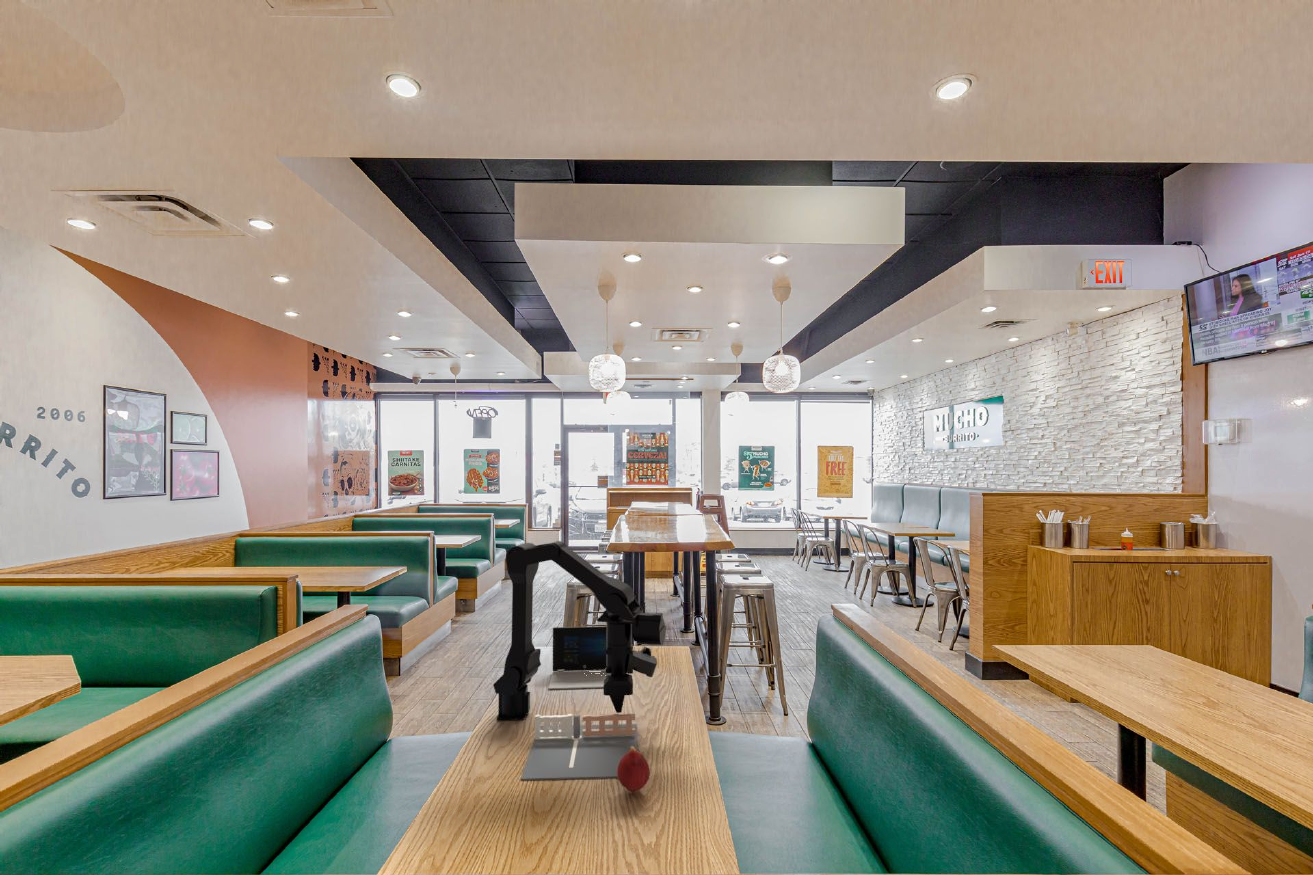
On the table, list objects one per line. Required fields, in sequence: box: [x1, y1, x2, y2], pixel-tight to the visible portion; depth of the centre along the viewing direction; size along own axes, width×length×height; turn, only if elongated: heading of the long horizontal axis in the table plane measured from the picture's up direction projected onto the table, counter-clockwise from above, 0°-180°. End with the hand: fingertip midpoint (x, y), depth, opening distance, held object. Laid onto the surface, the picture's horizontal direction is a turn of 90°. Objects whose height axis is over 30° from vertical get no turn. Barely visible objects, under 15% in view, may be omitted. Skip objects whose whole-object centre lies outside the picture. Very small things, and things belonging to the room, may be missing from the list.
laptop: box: [547, 625, 610, 691], centre depth 161 cm, size 18×12×13 cm
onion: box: [617, 746, 651, 794], centre depth 107 cm, size 6×6×8 cm
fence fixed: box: [534, 713, 573, 740], centre depth 127 cm, size 8×1×5 cm, turn 93°
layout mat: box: [520, 723, 639, 781], centre depth 122 cm, size 22×22×1 cm
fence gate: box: [572, 713, 636, 738], centre depth 127 cm, size 13×1×4 cm, turn 93°
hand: (618, 712), depth 133 cm, fingers closed
